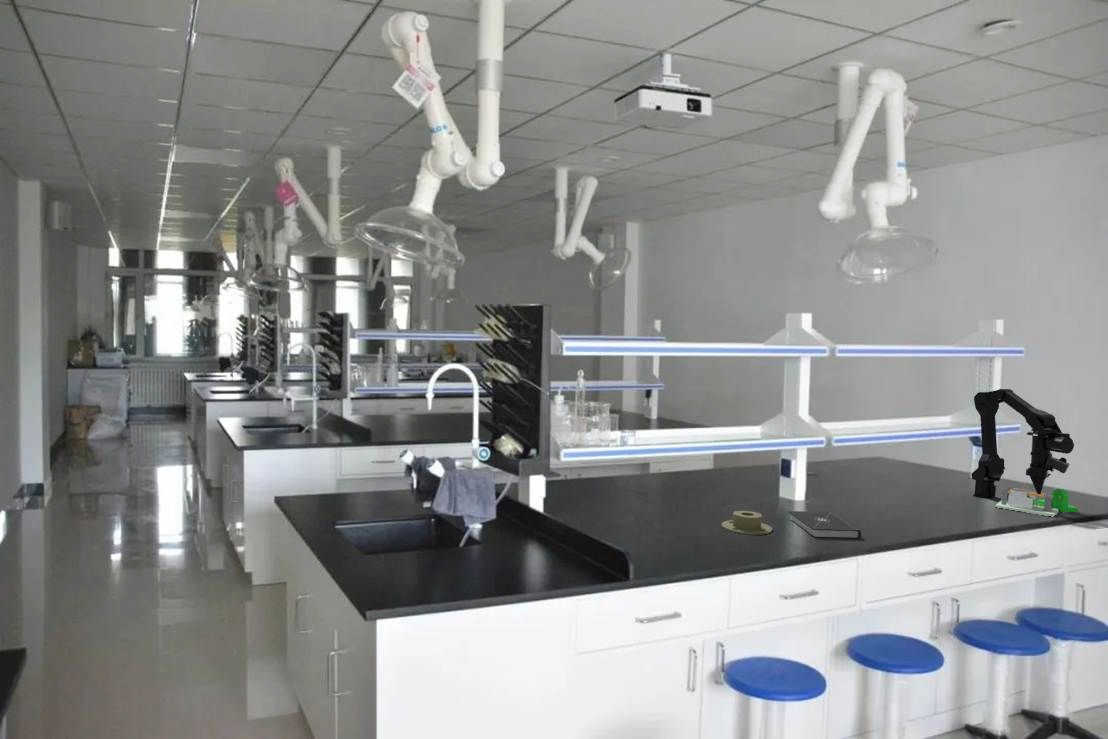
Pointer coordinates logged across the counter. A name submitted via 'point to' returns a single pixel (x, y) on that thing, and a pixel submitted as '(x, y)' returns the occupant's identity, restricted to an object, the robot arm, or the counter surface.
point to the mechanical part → (1060, 501)
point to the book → (824, 524)
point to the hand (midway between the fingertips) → (1038, 493)
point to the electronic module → (1024, 499)
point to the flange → (747, 523)
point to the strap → (1030, 493)
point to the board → (1035, 510)
